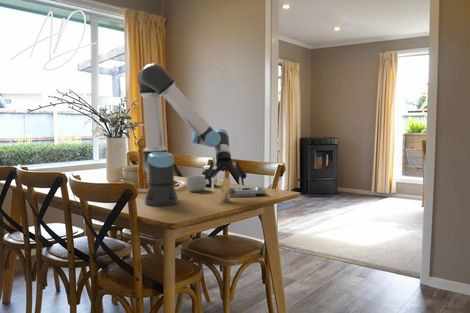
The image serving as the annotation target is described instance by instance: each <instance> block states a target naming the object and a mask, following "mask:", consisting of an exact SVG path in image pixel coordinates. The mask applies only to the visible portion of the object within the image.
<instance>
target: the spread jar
mask: <svg viewBox="0 0 470 313" xmlns="http://www.w3.org/2000/svg"><path fill="white" fill-rule="evenodd" d="M209 167H210V165H204V166H203V170H202V172H201V175H202V176H205V174H206V173H207V171H208V169H209ZM215 169H216V166H214V168H213V169H212V171H211V173H212V172H213V171H214V170H215ZM211 173H210V174H211ZM213 184H214V187H216V186H217V185H218V173H217V174H216V175H215V176H214V177H213ZM205 188H212V187H211V185H209V181H208V179H206V187H205Z"/></svg>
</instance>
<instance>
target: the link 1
mask: <svg viewBox="0 0 470 313" xmlns="http://www.w3.org/2000/svg"><path fill="white" fill-rule="evenodd" d="M234 188H235V187H230V198H240V197H241V198H242V197H243V198H246V197H247V198H248V197H249V198H251V197H257V195H256V194H236V192H235V191H234Z"/></svg>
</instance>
